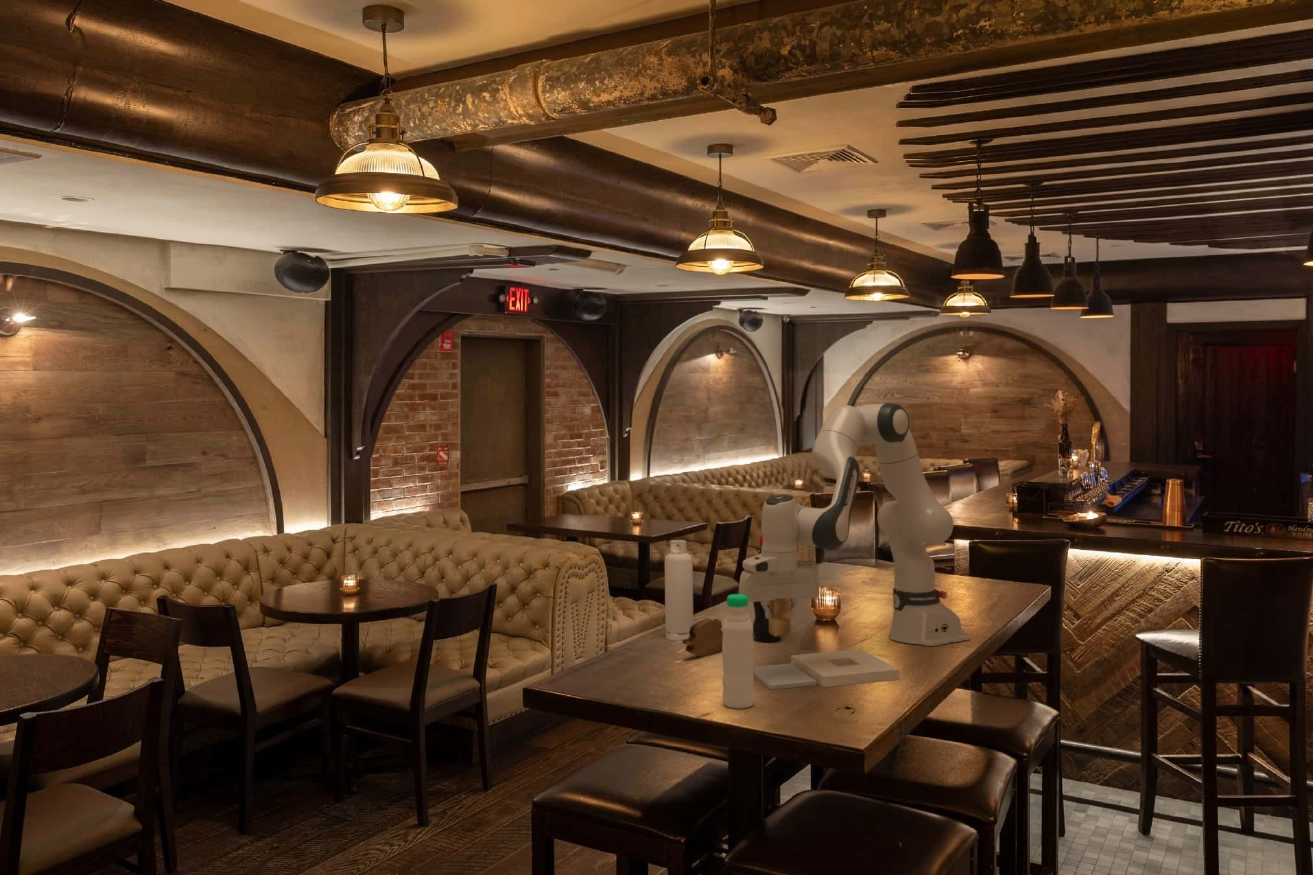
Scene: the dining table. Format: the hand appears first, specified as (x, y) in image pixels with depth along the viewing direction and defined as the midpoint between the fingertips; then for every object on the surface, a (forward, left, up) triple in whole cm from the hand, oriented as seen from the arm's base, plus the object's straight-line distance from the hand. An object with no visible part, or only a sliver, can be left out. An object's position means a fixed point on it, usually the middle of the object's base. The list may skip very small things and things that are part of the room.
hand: (779, 617), depth 241 cm
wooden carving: (+11, -26, -15) cm, 32 cm away
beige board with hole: (-17, 0, -15) cm, 23 cm away
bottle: (+12, -47, -15) cm, 51 cm away
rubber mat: (0, 0, -15) cm, 15 cm away
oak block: (0, 0, -4) cm, 4 cm away
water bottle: (+17, +16, -15) cm, 28 cm away
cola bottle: (-11, -36, -15) cm, 41 cm away
